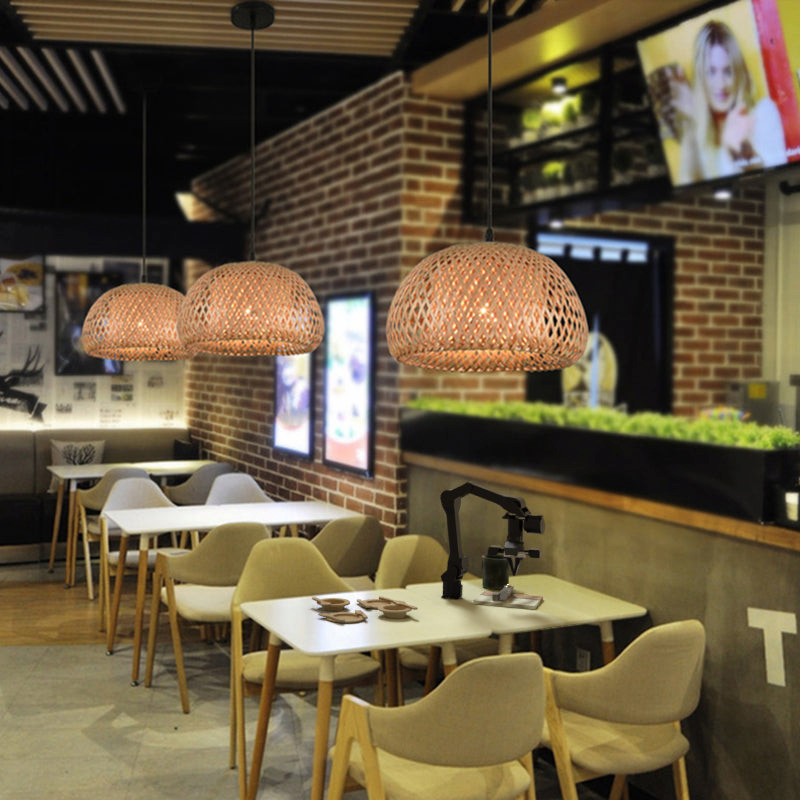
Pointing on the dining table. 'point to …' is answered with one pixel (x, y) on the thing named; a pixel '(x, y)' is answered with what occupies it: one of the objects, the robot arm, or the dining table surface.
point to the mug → (495, 571)
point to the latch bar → (506, 592)
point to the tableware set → (382, 604)
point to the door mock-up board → (509, 600)
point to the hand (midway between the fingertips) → (514, 575)
